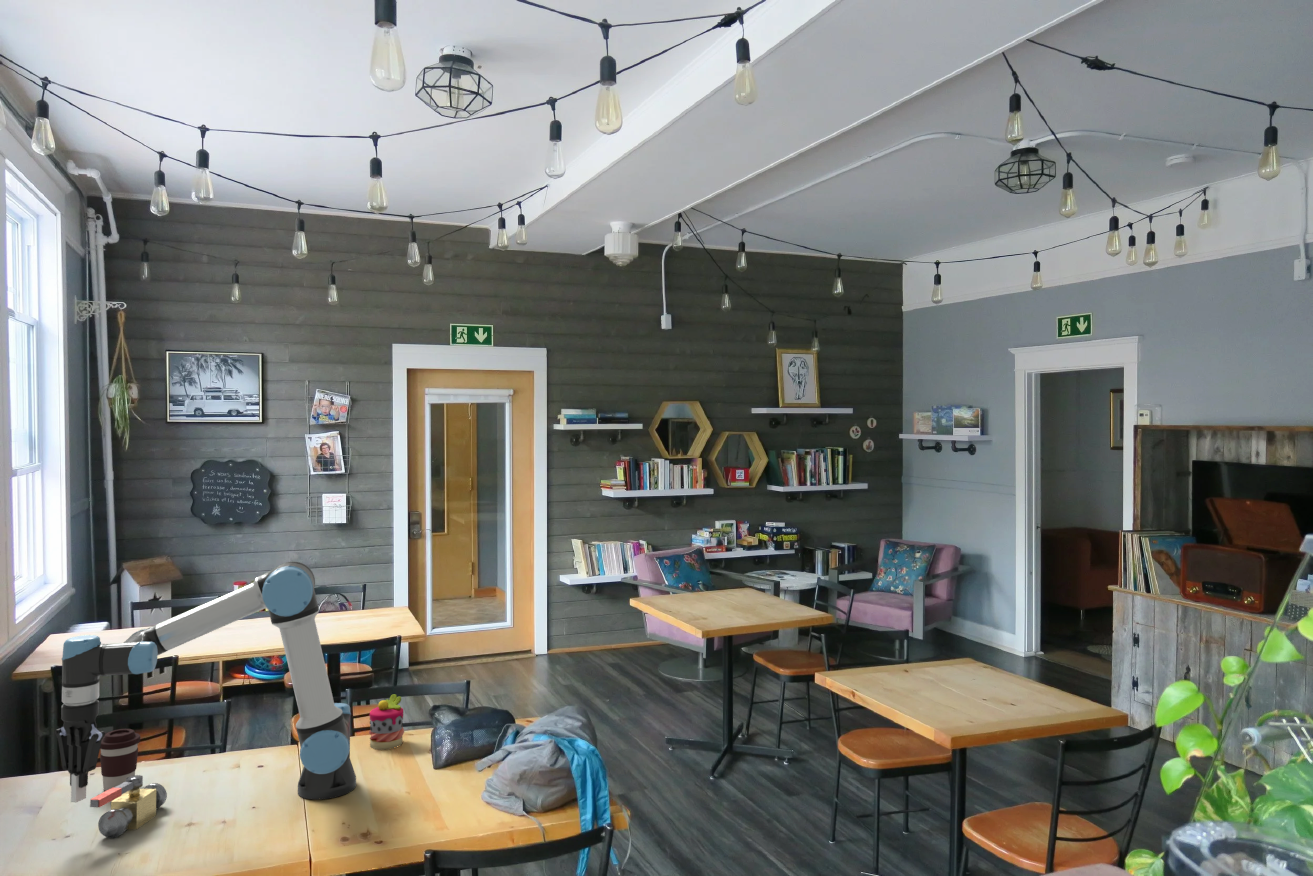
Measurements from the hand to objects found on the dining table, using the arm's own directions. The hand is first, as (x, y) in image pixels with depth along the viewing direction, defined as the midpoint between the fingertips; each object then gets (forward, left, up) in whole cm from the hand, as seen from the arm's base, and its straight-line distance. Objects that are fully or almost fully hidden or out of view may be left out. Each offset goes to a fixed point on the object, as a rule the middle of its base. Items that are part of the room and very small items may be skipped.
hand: (78, 800), depth 205 cm
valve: (-8, -9, -9) cm, 15 cm away
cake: (-52, -67, -10) cm, 85 cm away
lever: (-7, -4, 0) cm, 8 cm away
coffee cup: (+10, -31, -10) cm, 34 cm away
